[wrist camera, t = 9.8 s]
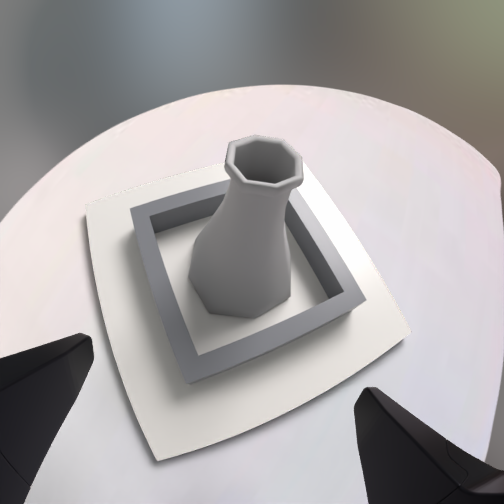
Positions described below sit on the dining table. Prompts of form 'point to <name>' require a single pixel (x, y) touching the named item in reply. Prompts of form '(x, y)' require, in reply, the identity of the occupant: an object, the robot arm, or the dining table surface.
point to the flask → (248, 231)
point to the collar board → (230, 327)
